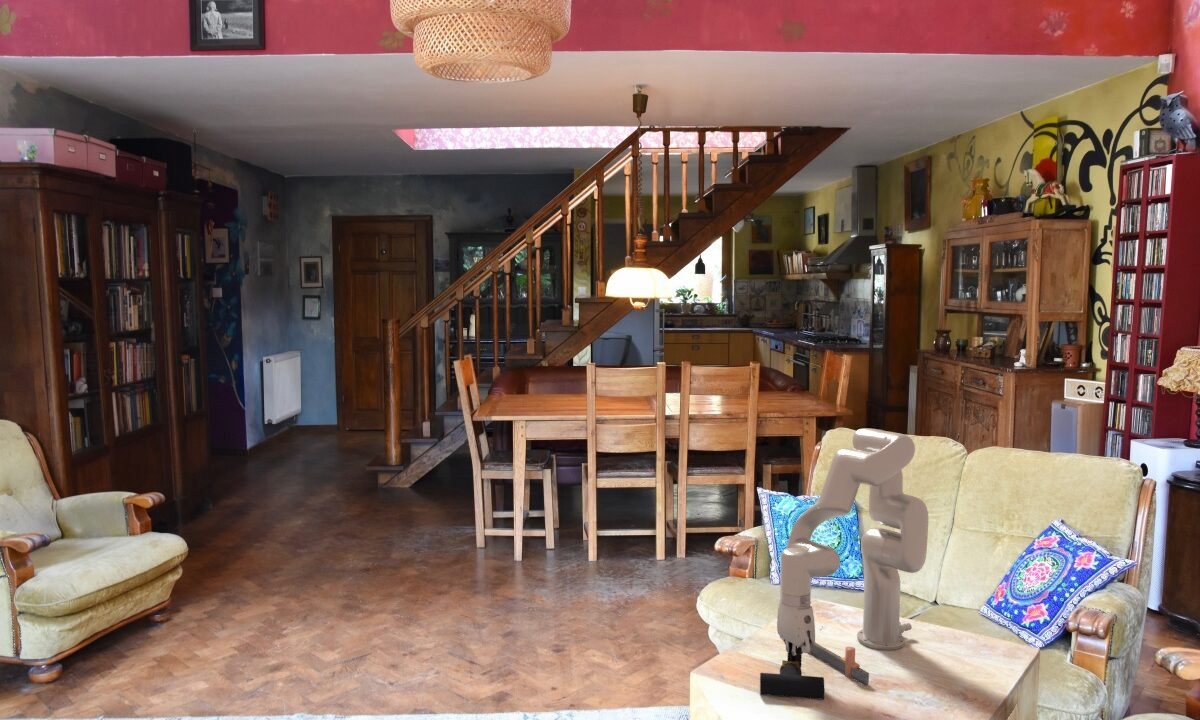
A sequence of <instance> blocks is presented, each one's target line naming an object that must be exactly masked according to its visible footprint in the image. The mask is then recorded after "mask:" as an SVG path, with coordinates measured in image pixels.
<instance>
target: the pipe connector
mask: <svg viewBox="0 0 1200 720" xmlns="http://www.w3.org/2000/svg"><path fill="white" fill-rule="evenodd" d="M802 674H803V673H802V667H801V668H800V666H799V661H793V662H792V661H787V660H782V663H781V665H780V667H779V673H771V672H770V673H768V672H759V675H760V676H759V695H760V696H761V695H763V696H775V697H776V696H777V697H787V698H789V697H791V698H798V699H799V698H802V699H812V700H814V699H816V700H825V678H824V677H823V676H814V675H813V676H811V675H802Z"/></svg>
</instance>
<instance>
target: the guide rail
mask: <svg viewBox="0 0 1200 720" xmlns="http://www.w3.org/2000/svg"><path fill="white" fill-rule="evenodd" d="M844 649H845V655H844V657H841V656H839V654H837V653H835V652H833V651H831V650H829V649H827V648H826V647H824V646H822V645H820V644H818V643H817V642H815V644H813V645H812V644H810V652H808V653H809V654H810V655H812V656H814V657H815V658H817V659H820V661H823V662H824V663H826V664H827V665H829V666H830V667H832V668H834V669H836V670H837V671H839V672H841V673H843V674H844V675H845V677H847V678H851V679H853V680H854V679H855V681H856V680H857V681H856V682H858V683H860V684H861V685H863V686H865V685H866V686H869V685H868V684H870V683H869V682H870V680H869V679H870V673H869V671H866V670H864V669H862V667H861V665H860V663H858V662H856V648H855V647H853V646H846V647H845V648H844Z"/></svg>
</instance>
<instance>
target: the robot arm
mask: <svg viewBox="0 0 1200 720" xmlns="http://www.w3.org/2000/svg"><path fill="white" fill-rule="evenodd" d="M852 445H853V448H842V449H839V450H838V451H836V452H835V453H834V456H833V458H832V461H831V463H830V466H829V468H828V472H827V474H826V478H825V481H824V483H823V487H822V489H821V492H820V495H819V498H818V499H817V501H816V502H815V503H814V504H812V505H811V506H809V507H808V509H806V510H805V511H804V512H803V513H802V514H801V515H800V516H799V517H798V518H797V520H796V521H795V523H794V524H793V527H792V528H791V532H790V533H789V534H790V535H789V537H788V541H787V545H786V548H785V549H783V550H782V551H781V553H780V577H779V578H780V579H779V580H780V581H779V582H780V588H779V589H780V590H779V602H778V607H777V616H776V619H777V620H776V631H777V634H778V635H779V638H780V639H781V640H782V642H783V643H784V645H785V651H786V652H787V660H786V661H792V662H793V661H799V666H800V668H801V669H802V658H803V657H802V655H803V654H804V653H805V654H808V653H809V652H810V644H812V645H813V644H815V643H816V625H815V616H814V609H813V606H812V605H811V603H812V602H811V594H812V593H811V591H812V589H811V588H812V587H811V586H812V578H823V577H829V576H832V575H834V574H835V573H836V572H837V571H838V570H839V568H840V566H841V556H840V555H839V553H838V552H837V551H836V550H835V549H833V548H832V547H830V546H827V545H823V544H821V543H818V542H814V541H812V540H811V539H812V536H813V533H814V531H815V530H816V529H817V528H818V527H819V526H820V525H822V524H823V523H825V522H827V521H829V520H832V519H835V518H839V517H840V518H841V517H843V516H847V515H849V514H850V513H851V511H852V509H853V506H854V503H855V499H856V497H857V494H858V490H859V487H860V485H861V484H862V485H865V486H869V493H868V494H869V495H868V513H869V518H870V520H872V521H873V522H875V523H876V524H877V523H878V524H880V525H882V526H886V527H889V528H894V529H897V530H900V532H899V531H898V532H897V531H895V530H891V529H887V528H883V527H873V528H870V529H867V530H866V531H865V532H864V533H863V535H862V537H861V540H860V550H861V551H860V552H861V555H862V563H863V574H864V575H863V579H864V580H863V613H862V614H863V620H862V621H863V622H862V623H863V625H862V629H861V630H859V631H858V632H857V634H856V639H857V640H858V642H859V643H861V644H862V645H864V646H866V647H868V648H871V649H876V650H884V651H895V650H898V649H901V648H903V647H904V646H905V644H906V639H905V637H904V636H903V633H905V632H907V631H911V630H912V629H913V628H912V627H913V626H912V624H911V623H910V622H906V623H903V624H902V623H901V622H900V611H901V609H900V608H901V576H900V574H899V571H902V572H904V573H909V574H914V573H917V572H920V571H921V570H922V569H923V567H924V565H925V562H926V560H927V554H928V553H927V551H928V549H927V548H928V536H929V511H928V507H927V505H926V503H925V501H923V500H922V499H921V498H919V497H917V496H914V495H910V494H905V493H904V490H903V489H904V488H903V484H904V483H903V471H902V470H903V469H904V468H905V467H907V466H908V465H909V464H910V463H911V462H912V460H913V458H914V456H915V453H916V446H915V443H914V440H913V439H912V437H910V436H908V435H906V434H903V433H899V432H894V431H886V430H883V429H876V428H867V427H866V428H865V427H864V428H859V429H857V430H856V431H855V432H854V433H853V436H852ZM898 570H899V571H898Z"/></svg>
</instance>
